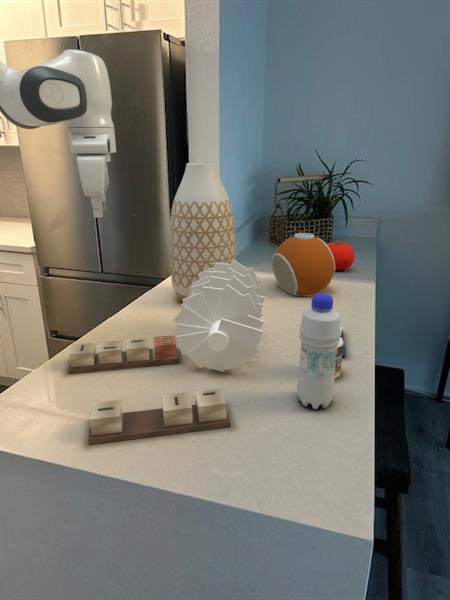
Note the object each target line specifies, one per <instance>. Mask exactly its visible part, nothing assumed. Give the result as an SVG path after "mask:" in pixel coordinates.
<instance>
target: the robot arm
mask: <svg viewBox="0 0 450 600" xmlns="http://www.w3.org/2000/svg"><path fill="white" fill-rule="evenodd" d="M112 107H113V97H112V89H111V83H110V76H109V72H108V68H107V66H106V64H105V61H104V60H103V58H101V57H100V56H99V55H98V54H96V53H93V52H92V51H88V50H84V49H77V48H68V49H65V50H63V51H62V53H60V54H59V55H58V56H55V57H54V58H52V59H50V60H48V61H46V62H43V63H40V64H36V65H33V66H29V67H27V68H24V69H22V70H17V69H14V68H12V67H10V66H7V65H6V64H5V63H3V62H2V61H1V60H0V113H1V114H2V115H3V117H4V118H5V119H6V120H7V121H8V122H10V124H12V125H14V126H16V127H18V128H20V129H25V130H35V129H38V128H41V127H44V126H45V127H47V126H53V125H57V124H60V123H62V122H64V123H66V125H67V133H68V138H69V139H68V142H69V149H70V153H71V154H72V155H75V157H76V158H75V159H76V164H77V169H78V174H79V180H80V184H81V188H82V191H83V194H84V196H85V197H90V199H89V200H90V205H91V208H92V214H93V217H94V218H95V219H96V218H97V219H99V218H100V219H101V218H103V217H104V212H105V211H106V209H107V204H106V195H107V194H106V192H107V190H108V188H109V186H110V180H109V179H110V178H109V170H108V162H111V161H112V159H111V154H115V153H117V145H116V133H115V125H114V122H113V118H112V109H113V108H112Z"/></svg>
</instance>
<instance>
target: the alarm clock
mask: <svg viewBox="0 0 450 600" xmlns="http://www.w3.org/2000/svg"><path fill="white" fill-rule="evenodd" d="M271 269H272V273H273V275H274V277H275V280H276V282H277V284H278V285H279V287H280V289H282V290H284V291H285V292H287V293H289V294H290V295H292V296H298V297H313V296H314V295H316V294H321V293H322V291H323V290H325V289H326V288H327V287H328V286H329V285H330V283H331V281H332V279H333V277H334V275H335V272H336V270H335V261H334V257H333V254H332V252H331V251H330V249H329V247H328V246H327V243H326V242H325V241H324V240H323V239H321V238H319V237H317V236H315V235H314V234H313V233H309V232H298V233H295V234H294V236H290V237H289V238H287V239H285V240H284V241H283V242H282V243H281V244H280V245H279V246H278V247H277V248H276V250H275V251H274V252H273V254H272V256H271Z"/></svg>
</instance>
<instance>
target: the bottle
mask: <svg viewBox="0 0 450 600" xmlns="http://www.w3.org/2000/svg"><path fill="white" fill-rule="evenodd" d="M333 307H334V299H333V297H332V296H331V294H330V295H329V294H327V293H318V294H316V295H312V298H311V307H309V308H306V309H305V310H304V311H303V312H302V318H301V322H300V326H299V340H300V356H299V372H298V378H297V384H296V385H297V386H296V394H297V398H298V400H299V401H301V404H302V405H303V406H305V407H308V406H309V405H311V406H312V409H313V410H317V409H319V407H320V406H321V408H323V409H325V408H327V407H329V405H330V403H331V402H332V400H333V398H334V394H335V378H334V373H335V363H336V353H337V344H338V343H339V341H340V335H341V329H340V326H341V315H340V313H339V312H337V311H336V310H334V309H333Z"/></svg>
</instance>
